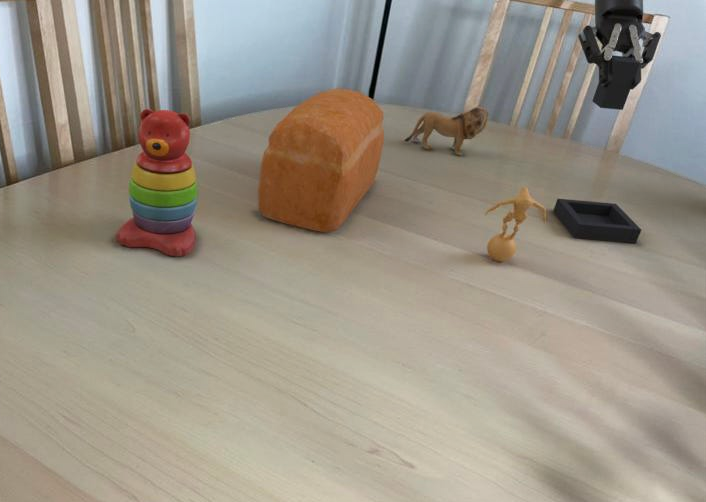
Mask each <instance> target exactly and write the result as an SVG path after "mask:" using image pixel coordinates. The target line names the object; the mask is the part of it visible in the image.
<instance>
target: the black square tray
mask: <svg viewBox="0 0 706 502" xmlns="http://www.w3.org/2000/svg"><path fill="white" fill-rule="evenodd" d="M552 213H554V215H555V216H556V217H557V219H558V220H559V221H560V222H561V224H562V225H563V226H564V227H565V229H566V230H567V231H568V233H570V235H571V236H572V237H573V238H574V239H582V240H593V241H603V242H604V241H605V242H617V243H628V244H637V241H638V239H639V237H640V235H641V232H642V228H640V227H639V225H638V224H637V223H635V221H634V220H633V219H632V218H631V217H630V216H629V215H628V214H627V213H626V212H625V211H624V210H623V209H622V208H621V207H620V206H619V205H618V204H617V203H614V202H613V203H610V202H601V201H592V200H591V201H590V200H589V201H588V200H579V199H566V198H557V199H556V202H555V204H554V207H553V210H552Z"/></svg>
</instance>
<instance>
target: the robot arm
mask: <svg viewBox="0 0 706 502" xmlns="http://www.w3.org/2000/svg"><path fill="white" fill-rule="evenodd" d="M643 18H644V0H594V25H595V26H591V25H590V24H588V25H585V26H584V28H582V30H581V31H580V33H578V36H577V37H578V40H579V43H580V46H581V48H582V52H583V54H584V56H585V60H586V62H587V63H588V64H589V65H591V64H595V65H596V66H597V67H598V83H599V82H600V83H602V87H607V86H608V85H609V84H610V83H611V82H612V62H610V60H611V57H612V55H613V53H614V52H617V53H618V52H619V53H620V54H621V56H625V57H631V58H633V59H635V60H636V61H638V62H640V65H639V68H638V71H637V73H636V76H635V78H634V81H633V84H632V86H631V89H630V90H635V88H636V87H637V86H638V85H639V84H640V83H641V81H642V70H643V69H645V68H646V67H647V66H648V64H650V63H651V62H652V61H653V60H654V57H655V54H656V52H657V48H658V45H659V43H660V40H661V37H662V34H661V32H659V31H655V32H654V33H651V32H649V31H646V28H645V27H646V26H644V23H643ZM597 40H598V41H597ZM640 40H642V46H641V42H640ZM598 42H599V43H600V45H601V46H599V44H598ZM642 47H643V49H642ZM641 50H642V52H641Z"/></svg>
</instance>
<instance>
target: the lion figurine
mask: <svg viewBox="0 0 706 502" xmlns="http://www.w3.org/2000/svg"><path fill="white" fill-rule="evenodd" d="M489 113H490V112H489V111H487V109H486V108H484V107H482V106H475V107H473V108H471V109H470V110H468V111H466V112H462V113H460V114H458V115H456V116H453V117H449V116H445V115H442V114H440V113H438V112H435V111H428V112H426V113H424V114H422V116H421V117H420V118H419V119H418V120H417V123H416V124H415V126H414V129H413V131H412V133H411V134H410V135H409V136H408V137H406V138H405V139H404V140H403V141H404V142H409V141H411V140H412V141H413V142H414V143H420V141H422V145H423V148H424V149H425V150H427V151H428V150H431V145H429V144H428V139H429V137H430V136H431V135H432V133H433V131H434V130H435V131H436V132H437V134H438V135H439V134H440V135H441V136H443V137H446V138H453V143H452V151H454V154H455V155H456V156H462V155H463V153H462V152H461V147H462V146H463V143H464V141H465V140H472V139H473V138H475V137H476V136H477V135H479V134H480V133H482V132H483V131H484V129H485V128H486V127H487V124H488V118H489ZM421 124H422V125H421ZM421 134H423V136H422V138H421V140H420V138H418V137H419V136H420V135H421Z"/></svg>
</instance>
